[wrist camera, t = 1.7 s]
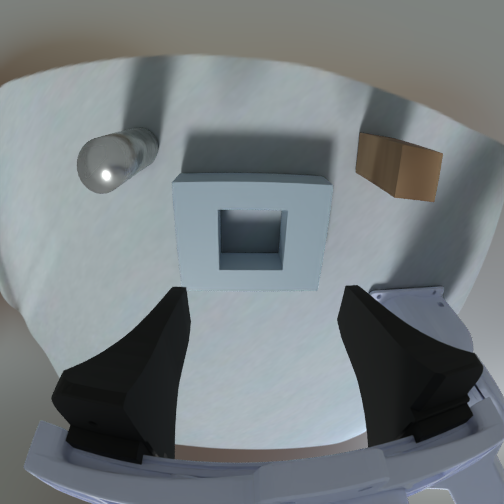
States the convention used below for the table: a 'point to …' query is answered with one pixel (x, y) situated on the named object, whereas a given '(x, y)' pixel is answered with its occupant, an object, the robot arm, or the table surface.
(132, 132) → the cylinder
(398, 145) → the square bit
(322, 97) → the table surface
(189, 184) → the socket block
